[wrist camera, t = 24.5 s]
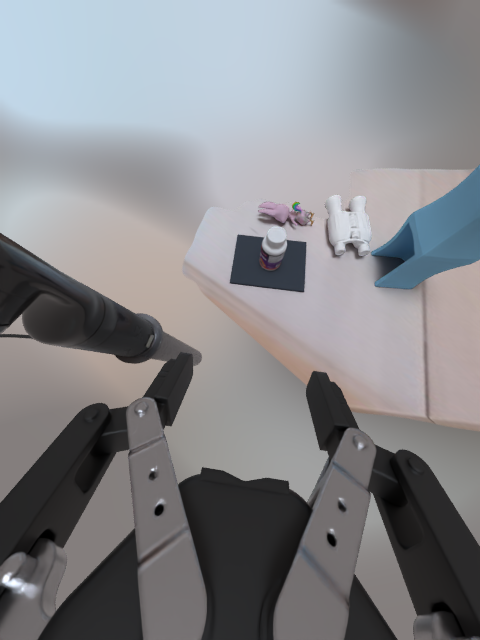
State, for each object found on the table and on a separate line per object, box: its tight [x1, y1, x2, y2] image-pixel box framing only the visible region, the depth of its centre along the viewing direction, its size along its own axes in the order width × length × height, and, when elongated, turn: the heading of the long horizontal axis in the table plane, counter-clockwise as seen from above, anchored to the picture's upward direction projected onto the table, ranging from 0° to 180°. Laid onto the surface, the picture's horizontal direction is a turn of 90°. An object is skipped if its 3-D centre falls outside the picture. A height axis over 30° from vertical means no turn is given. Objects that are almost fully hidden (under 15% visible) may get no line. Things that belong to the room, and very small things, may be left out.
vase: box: [371, 165, 480, 289], centre depth 35 cm, size 10×10×25 cm
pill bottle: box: [259, 226, 287, 271], centre depth 42 cm, size 5×5×10 cm
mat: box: [230, 235, 306, 292], centre depth 47 cm, size 18×14×1 cm
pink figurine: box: [258, 202, 314, 226], centre depth 49 cm, size 6×6×15 cm
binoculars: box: [325, 195, 372, 256], centre depth 48 cm, size 10×16×5 cm, turn 178°
